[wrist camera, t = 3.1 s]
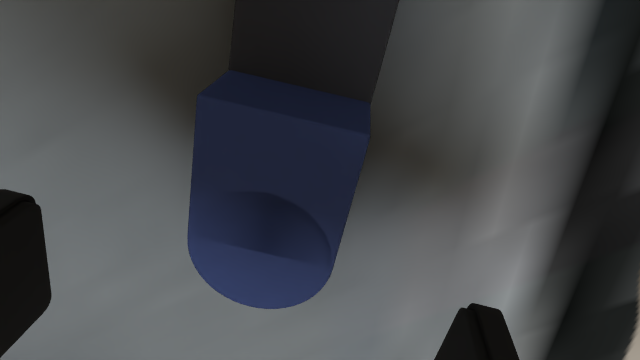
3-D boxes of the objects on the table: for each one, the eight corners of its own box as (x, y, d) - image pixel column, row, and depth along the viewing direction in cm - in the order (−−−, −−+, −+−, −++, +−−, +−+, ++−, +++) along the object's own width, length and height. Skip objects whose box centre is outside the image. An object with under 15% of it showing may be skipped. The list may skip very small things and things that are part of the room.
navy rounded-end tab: (253, -100, 13) (210, -121, 9) (413, -62, 13) (430, -69, 9) (218, 229, 19) (183, 291, 15) (327, 254, 19) (317, 323, 15)
